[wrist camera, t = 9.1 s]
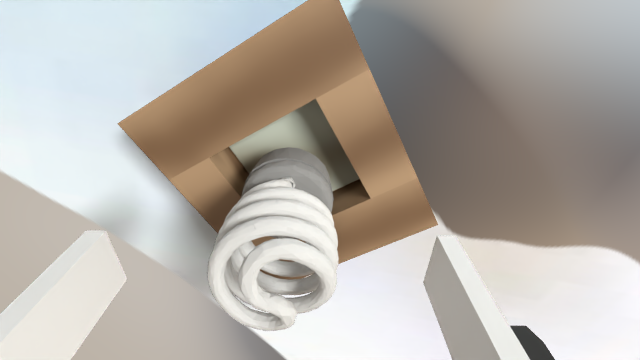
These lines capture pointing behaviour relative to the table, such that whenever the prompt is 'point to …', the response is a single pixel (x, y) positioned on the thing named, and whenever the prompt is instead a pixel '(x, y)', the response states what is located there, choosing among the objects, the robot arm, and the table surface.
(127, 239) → the table surface
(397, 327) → the table surface
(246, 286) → the light bulb
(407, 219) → the socket board
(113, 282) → the robot arm
